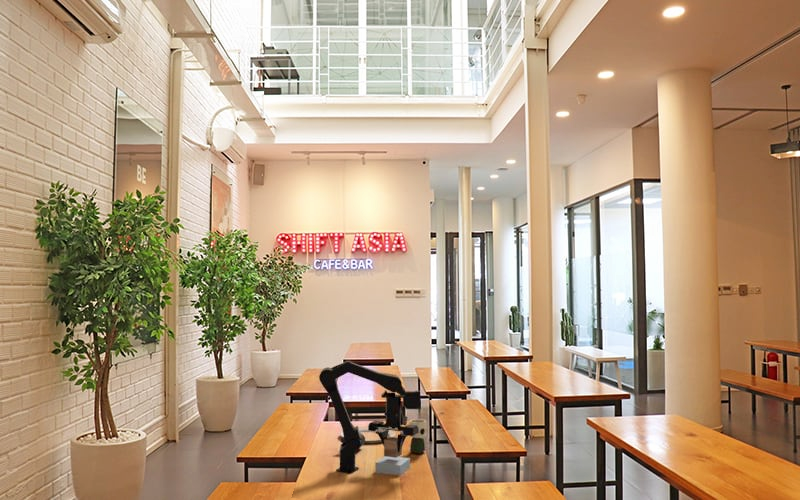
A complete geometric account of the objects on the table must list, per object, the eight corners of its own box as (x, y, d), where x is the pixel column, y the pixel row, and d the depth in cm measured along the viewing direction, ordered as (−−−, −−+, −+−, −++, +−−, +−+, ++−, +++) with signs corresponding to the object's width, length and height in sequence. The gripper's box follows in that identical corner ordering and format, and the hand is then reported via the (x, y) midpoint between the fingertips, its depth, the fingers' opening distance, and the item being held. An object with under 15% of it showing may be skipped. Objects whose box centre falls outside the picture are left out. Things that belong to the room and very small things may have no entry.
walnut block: (396, 457, 230) (396, 441, 230) (384, 456, 232) (384, 439, 232) (401, 454, 235) (401, 438, 235) (389, 452, 237) (390, 436, 237)
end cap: (356, 455, 253) (356, 438, 253) (340, 453, 255) (340, 436, 255) (365, 448, 262) (365, 432, 262) (349, 447, 264) (349, 431, 265)
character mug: (420, 457, 251) (420, 424, 251) (404, 454, 254) (404, 422, 254) (430, 450, 260) (430, 419, 261) (415, 448, 263) (415, 417, 264)
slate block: (400, 476, 227) (400, 465, 227) (375, 473, 230) (375, 462, 230) (409, 468, 236) (409, 458, 236) (385, 465, 239) (385, 455, 240)
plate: (330, 442, 273) (330, 437, 273) (352, 429, 297) (352, 424, 297) (385, 447, 265) (385, 442, 266) (402, 433, 290) (403, 429, 290)
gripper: (424, 407, 238) (424, 449, 237) (380, 403, 245) (380, 443, 245) (412, 413, 227) (412, 456, 227) (367, 408, 235) (367, 450, 234)
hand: (392, 451), depth 233 cm, fingers closed on walnut block, 5 cm apart
